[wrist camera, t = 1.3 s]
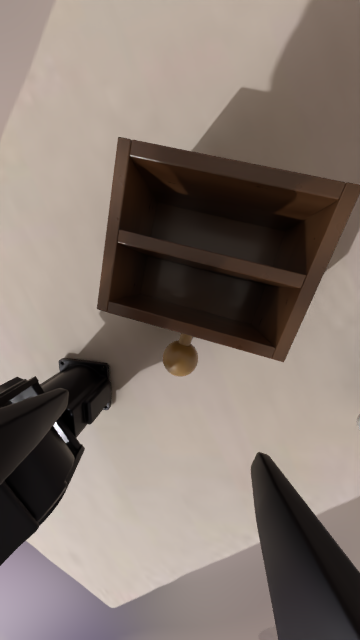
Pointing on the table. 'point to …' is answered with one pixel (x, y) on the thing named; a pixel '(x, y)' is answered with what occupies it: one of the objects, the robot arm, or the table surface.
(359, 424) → the toy rhinoceros
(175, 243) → the shelf
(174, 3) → the table surface
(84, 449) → the robot arm
